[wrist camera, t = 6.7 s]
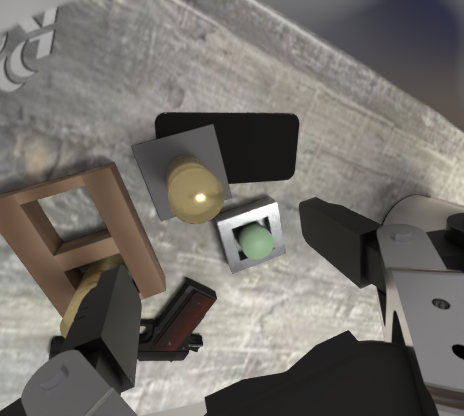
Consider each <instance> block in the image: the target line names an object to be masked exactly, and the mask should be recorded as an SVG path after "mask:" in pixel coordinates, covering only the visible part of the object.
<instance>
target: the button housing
mask: <svg viewBox="0 0 464 416" xmlns="http://www.w3.org/2000/svg"><path fill="white" fill-rule="evenodd" d="M214 219H215V222H216V226H217V229H218V232H219V236H220V239H221V242H222V246H223V249H224V252H225V256H226V259H227V263H228V265H229V267H230V270H231V272H232V274H233V273H236V272H238V271H241V270H244V269H246V268H249V267H251V266H254V265H257V264H259V263H262V262H264V261H267V260H269V259H272V258H275V257H277V256H280V255H282V254H285V253H286V251H285V246H284V240H283V234H282V228H281V222H280V217H279V211H278V205H277V202H276V201H275V200H274V199H272V198H271V197H267V198H264V199H261V200H258V201H255V202H252V203H249V204H246V205H243V206H241V207H238V208H235V209H232V210H229V211H226V212H223V213H220V214H217V215H216V216H215V217H214ZM251 223H259V224H261V225H263V226H264V227H265V228H266V229H267V230H268V231H269V232H270V233H271V235H272V236H273V238H274V247H273V249H272V251H271V253H270V254H269V255H268V256H266V257H265V258H263V259H259V260H252V259H250V258H248V257H247V256H246V255H245V254H244V252H243V250H242V249H241V247H240V245H239V243H238V235H239V233H240V231H241V230H242V228H243V227H245V226H246V225H248V224H251Z"/></svg>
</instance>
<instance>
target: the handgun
mask: <svg viewBox="0 0 464 416" xmlns="http://www.w3.org/2000/svg"><path fill="white" fill-rule="evenodd" d="M216 300H217V296H216V293H215V291H213V290H212V289H210V288H208V287H206V286H204V285H202V284H200V283H198V282H196V281H194V280H192V279H190V278H187V277H186V283H185V285H184V286H183V287H182V289H181V290H180V291H179V292H178V294H177V295H176V296H175V298H174V299H173V300H172V302H171V303H170V304H169V305H168V307H167V308H166V309H165V311H164V312H163V313H162V315H161V316H160V317H159V318H156V320H155V321H150V320H140V326H145V327H146V328H147V329H148V333H147V334H139V342H138V352H137V359H138V360H139V361H170V362H171V361H180V360H184V359H185V357H186V356H187V355H188V354H189V350H192V351H195V352H197V351H198V349H199V348H200V347H202V346H203V341H202V336H201V335H190V334H191V333H192V332H193V331H194V329H195V328H196V327H197V325H198V324H199V323H200V322H201V320H202V319H203V318H204V316H205V314H206V313H207V311H208V310H209V309H210V307H211V306H212V305H213V304H214V302H215V301H216ZM64 341H65V338H64V337H55V338H54V339H53V340H52V342H51V350H50V354H49V360H50V359H52V358H53V357H55V356H56V355H58V354H59V352H60V350H61V348H62V345H63V343H64Z"/></svg>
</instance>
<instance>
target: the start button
mask: <svg viewBox="0 0 464 416" xmlns="http://www.w3.org/2000/svg"><path fill="white" fill-rule="evenodd" d="M238 243H239V245H240V247H241V249H242V250H243V252H244V254H245V255H246V256H247V257H248V258H250V259H252V260H259V259H263V258H265V257H266V256H268V255H269V254H270V253H271V251H272V249H273V247H274V238H273V236H272V235H271V233H270V232H269V231H268V230H267V229H266V228H265V227H264V226H263V225H261V224H259V223H251V224H248V225H246V226H245V227H243V228H242V230H241V231H240V233H239V235H238Z"/></svg>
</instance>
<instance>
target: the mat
mask: <svg viewBox="0 0 464 416" xmlns="http://www.w3.org/2000/svg"><path fill="white" fill-rule="evenodd" d="M131 147H132V150H133V152H134V155H135V157H136V159H137V162H138V164H139V167H140V169H141V172H142V174H143V177H144V179H145V182H146V184H147V187H148V189H149V192H150V194H151V197H152V199H153V202H154V204H155V207H156V209H157V212H158V214H159V217H160V219H161V221H164V220H167V219H170V218H173V217H176V216H175V214H174V213H173V212H172V210H171V208H170V205H169V199H168V189H167V180H166V170H167V167H168V165H169V163H170V162H171V161H172V160H173V159H174V158H176V157H177V156H180V155H191V156H194V157H196V158H198V159H199V160H200V161H201V162H202V163H203V164H204V165H205V166H206V167H207V169H208V170H209V171H210V172H211V173H212V174H213V175H214V176H215V177H216V178H217V179H218V180H219V182H220V183H221V185H222V187H223V190H224V200H227V199H230V198H232V196H231V192H230V188H229V184H228V180H227V176H226V172H225V168H224V164H223V160H222V157H221V153H220V149H219V145H218V141H217V137H216V133H215V129H214V125H213V124H212V125H208V126H204V127H201V128H197V129H193V130H190V131H186V132H182V133H179V134H175V135H171V136H168V137H164V138H160V139H156V140H152V141H149V142H145V143H141V144H138V145H134V146H131Z"/></svg>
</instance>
